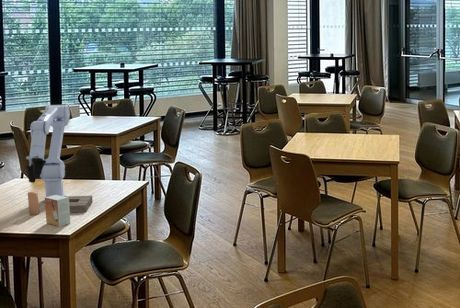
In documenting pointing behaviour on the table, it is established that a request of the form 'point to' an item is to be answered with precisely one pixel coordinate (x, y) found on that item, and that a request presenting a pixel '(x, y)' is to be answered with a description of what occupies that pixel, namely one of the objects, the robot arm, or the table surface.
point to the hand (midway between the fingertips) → (34, 179)
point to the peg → (33, 203)
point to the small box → (57, 210)
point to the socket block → (79, 203)
